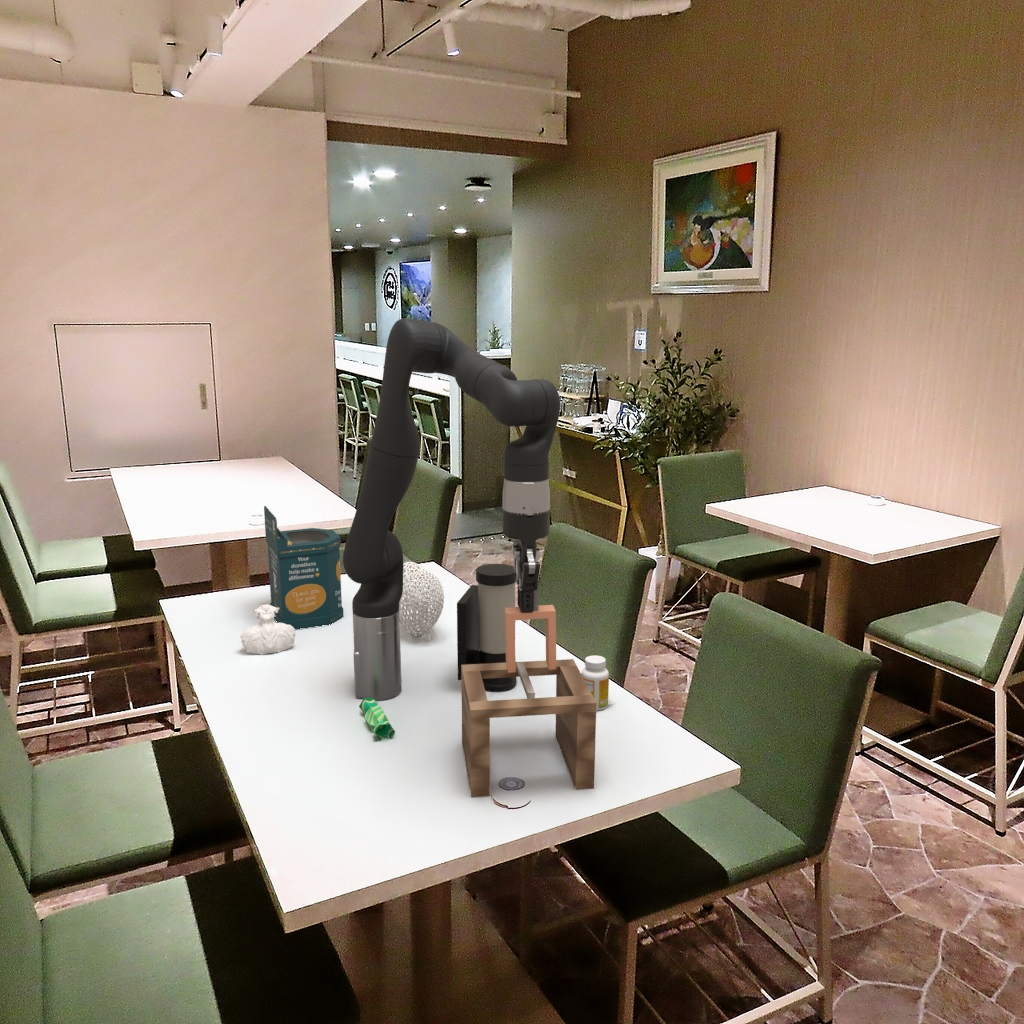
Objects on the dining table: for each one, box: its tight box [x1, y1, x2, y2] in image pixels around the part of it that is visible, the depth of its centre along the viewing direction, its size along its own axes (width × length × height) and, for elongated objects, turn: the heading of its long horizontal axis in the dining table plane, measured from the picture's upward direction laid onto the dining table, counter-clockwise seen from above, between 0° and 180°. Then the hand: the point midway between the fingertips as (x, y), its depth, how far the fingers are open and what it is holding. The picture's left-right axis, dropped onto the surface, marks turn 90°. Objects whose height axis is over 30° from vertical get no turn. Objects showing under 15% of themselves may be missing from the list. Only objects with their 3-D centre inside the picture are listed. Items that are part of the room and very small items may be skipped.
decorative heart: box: [399, 561, 445, 643], centre depth 206 cm, size 18×11×17 cm, turn 29°
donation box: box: [263, 505, 345, 630], centre depth 218 cm, size 16×16×28 cm
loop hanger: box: [505, 581, 557, 673], centre depth 144 cm, size 8×3×15 cm, turn 98°
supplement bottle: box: [580, 655, 610, 712], centre depth 171 cm, size 5×5×10 cm
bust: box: [240, 603, 296, 655], centre depth 199 cm, size 12×8×11 cm
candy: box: [358, 698, 396, 742], centre depth 163 cm, size 12×3×4 cm
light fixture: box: [456, 563, 518, 693], centre depth 179 cm, size 12×11×25 cm
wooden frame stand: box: [460, 658, 597, 798], centre depth 148 cm, size 20×18×16 cm
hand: (525, 609), depth 143 cm, fingers closed on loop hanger, 2 cm apart
